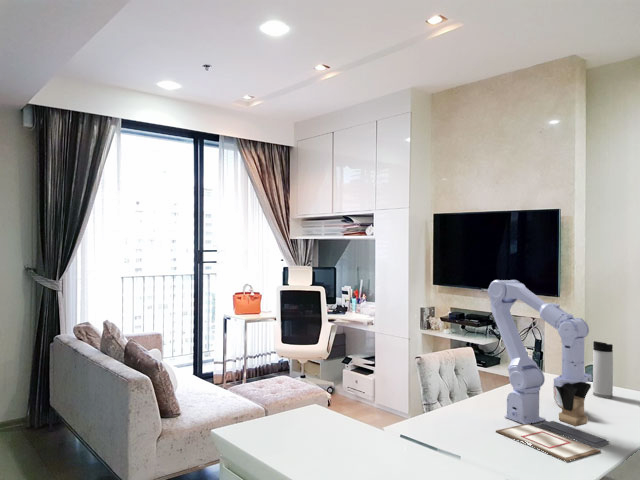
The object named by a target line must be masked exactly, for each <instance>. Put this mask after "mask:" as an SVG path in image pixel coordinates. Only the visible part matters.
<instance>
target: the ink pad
mask: <svg viewBox="0 0 640 480" xmlns="http://www.w3.org/2000/svg"><path fill="white" fill-rule="evenodd" d="M539 426H540V427H539V428H541V427H542V429H544V428H545V430H547V431H549V430H550V432H553V433H555V434H557V433H558V435H560V434H561V436H563V435H564V436H563V437H565V436H567V437H566V438H568V437H569V439H571V438H572V439H571V440H573V439H575V440H574V441H576V440H577V442H579V443H581V442H582V444H585V445H587V446H590V447H593V448H595V449H597V448H599V447H604V446H606V445H607V446H608V445H609V444H610V441H609V440H607V439H606V438H604V437H603V438H602V437H601V436H597V435H594V434H592V433H588V432H586V431H583V430H580V429H577V428H574V427H573V426H569V425H566V424H563V423H562V422H558V421H554V420H550V421H545V422H542V423H539Z"/></svg>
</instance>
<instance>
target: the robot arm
mask: <svg viewBox="0 0 640 480" xmlns="http://www.w3.org/2000/svg"><path fill="white" fill-rule="evenodd" d="M486 292H487V295H488V297H489V301H490V311H491V314H492V317H493V318H494V321H495V325H496V326H497V329H498V332H499V334H500V336H501V339H502V342H503V344H504V347H505V349H506V352H507V354H508V357H509V359H510V363H509V365H508V367H507V371H508V375H509V376H508V379H509V384H510V385H511V387H512V389H513V390H512V391H511V392H509V393H508V394H507V397H506V414H504V418H507V419H509V420H512V421H515V422H517V423H519V424H521V425H523V424H531V423H532V424H536V423H540V422H544V421H545V422H546V418H544V417H541V416H540V391H541V387H543V386H544V383H545V379H546V378H545V375H544V374H545V373H544V372H543V370H542V369H541V368H539V366H538V364H537V362H536V361H535V360H534V359H532V358H531V357H529V354H528V353H527V350H526V347H525V345H524V342H523V340H522V337H521V335H520V332H519V330H518V328H517V325H516V323H515V320H514V318H513V315H512V312H511V308H512V307H513V305H514V304H515V303H516V302H517V301H518V300H519V301H521V302H523V303H524V304H525V305H527V306H528V307H531V308H532V309H533V310H535V311H537V312H539V317H540V319H541V320H543V321H545V323H548V325H550V326H551V327H552V328H553V329H555V330H557V333H558V335H559V337H560V339H561V340H560V342H561V374H560V375H559V376H557V377H555V378H553V386H554V385H555V387H556V388H557V390H558V392H559V394H560V397H561V400H562V404H563V407H564V409H565V410H568V411H572V408H573V400H574V396H577V397H581V398H584V401H585V400H586V396H587V395H588V392H589V391H590V389H592V388H591V387H592V384H591V383H589V382H593V374H591V373H585V348H586V347H585V340H586V339H585V338H586V337H587V336H588V335H589V331H590V329H589V325H588V323H587V322H586V320H584V319H583V318H580V317H574V315H573V314H572V313H568V312H566V310H564V309H562V308H560V304H558V303H553V302H549V303H547V302H546V301H544V300H542V299H541V298H540V297H539V296H537V295H536V294H535V293H534V292H532V291H531V290H529V288H528V287H526V285H525V284H524V283H522V282H520V281H519V280H517V279H510V280H508V279H506V280H505V279H504V280H503V279H501V280H500V279H494V280H493V281H491V282H490V284H489V286H488V288H487V291H486ZM532 424H531V425H532Z"/></svg>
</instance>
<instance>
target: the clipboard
mask: <svg viewBox="0 0 640 480" xmlns="http://www.w3.org/2000/svg"><path fill="white" fill-rule="evenodd" d="M495 433H497V434H500V435H502V436H503V437H507V438H508V439H512V440H513V439H515V440H514V441H516V440H519V441H523V442H524V443H526V442H528V443H531V444H532V445H531V446H533V447H535V448H538V449H540V450H542V451H544V452H546V453H548V454H547V455H549V454H551V455H552V456H551V455H550V456H551V457H553V456H554V458H555V459H558V458H559V460H560V459H561V461H563V460H565V461H569V462H571V461H570V460H573V461H575V460H574V459H576V460H579V459H582V458H585V457H589V456H592V455H595V454H599V453H601V452H602V451H601V450H600V449H597V448H595V447H592V446H589V445H587V444H584V443H581V442H579V441H576V440H573V439H571V438H568V437H565V436H563V435H560V434H557V433H555V432H552V431H549V430H547V429H544V428H541V427H539V426H536V425H533V424H519V425H516V426H510V427H505V428H502V429H496V430H495ZM525 441H526V442H525ZM526 444H527V443H526ZM535 448H534V449H535ZM542 451H541V452H542ZM544 452H543V453H544ZM546 453H545V454H546ZM578 458H579V459H578ZM565 461H564V462H565Z"/></svg>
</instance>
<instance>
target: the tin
mask: <svg viewBox="0 0 640 480" xmlns="http://www.w3.org/2000/svg"><path fill="white" fill-rule="evenodd" d="M553 399H554V402H555V403H556V405H557V406H558V407H559V408H561V409H562V400H561V397H560V394H559V392H558V390H557V388H556V387H555V385H554V384H553Z"/></svg>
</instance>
